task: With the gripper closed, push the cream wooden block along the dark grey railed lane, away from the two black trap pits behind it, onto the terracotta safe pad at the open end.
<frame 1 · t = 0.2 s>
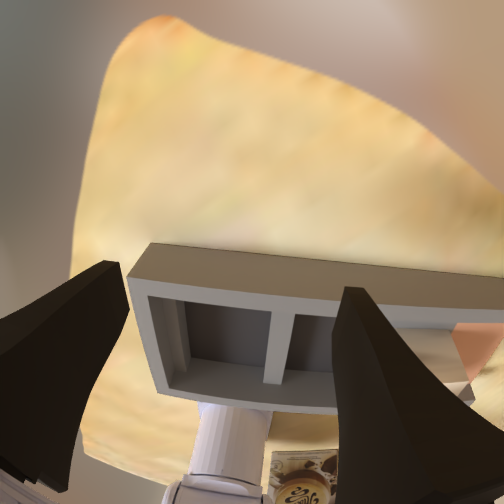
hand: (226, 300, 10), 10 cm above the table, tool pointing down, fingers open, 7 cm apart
coffee box: (305, 456, 38), on the table
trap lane: (352, 331, 23), on the table
cream block: (409, 351, 21), point 2 cm above the table, touching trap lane
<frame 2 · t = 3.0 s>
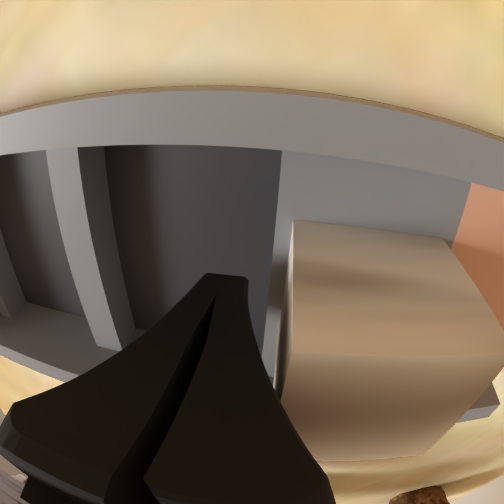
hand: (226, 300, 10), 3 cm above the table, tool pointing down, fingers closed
dark brown rounded lump: (419, 492, 31), on the table
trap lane: (234, 251, 12), on the table
cream block: (356, 294, 10), point 2 cm above the table, touching gripper, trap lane
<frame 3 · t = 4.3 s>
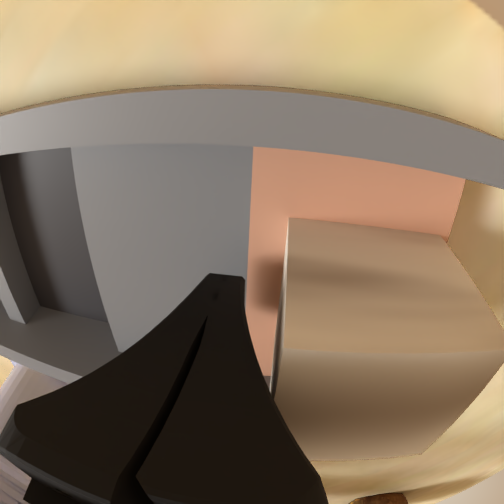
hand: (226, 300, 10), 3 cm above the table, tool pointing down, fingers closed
dark brown rounded lump: (379, 497, 31), on the table
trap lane: (87, 236, 13), on the table
cream block: (353, 292, 10), point 2 cm above the table, touching gripper, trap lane
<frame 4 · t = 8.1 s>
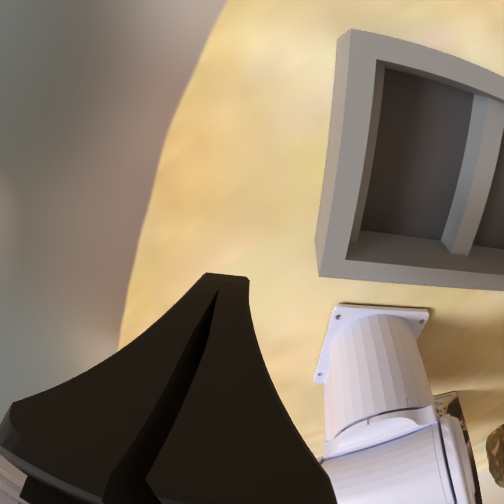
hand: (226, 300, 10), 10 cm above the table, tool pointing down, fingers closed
coffee box: (416, 409, 30), on the table
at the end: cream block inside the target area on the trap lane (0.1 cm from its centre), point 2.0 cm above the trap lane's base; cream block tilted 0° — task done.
